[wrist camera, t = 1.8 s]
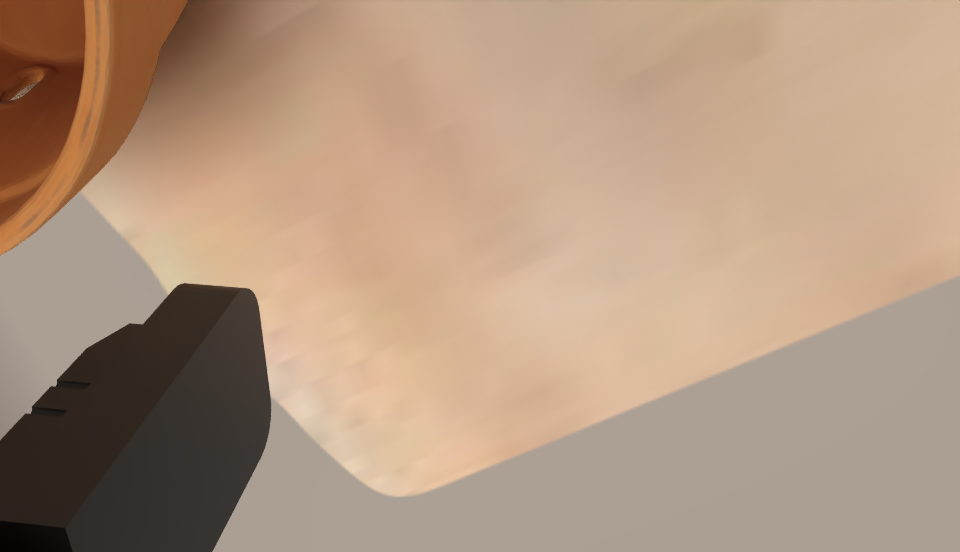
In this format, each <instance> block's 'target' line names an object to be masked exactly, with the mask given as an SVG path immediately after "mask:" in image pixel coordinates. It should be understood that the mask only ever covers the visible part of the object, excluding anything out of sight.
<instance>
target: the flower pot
mask: <svg viewBox="0 0 960 552" xmlns="http://www.w3.org/2000/svg"><path fill="white" fill-rule="evenodd" d="M187 2H188V0H0V255H2V254H4V253H6V252H7V251H9V250H11V249H13V248H14V247H16V246H17V245H18V244H20V243H21V242H22V241H24V240H25V239H27V238H28V237H29V236H31V235H32V234H33V233H35V232H36V231H37V230H38V229H39V228H41V227H42V226H43V225H44V224H45V223H46V222H47V221H48V220H49V219H51V218H52V217H53V216H54V215H55V214H56V213H57V212H58V211H59V210H60V209H61V208H62V207H63V206H64V205H66V204H67V203H68V202H69V201H70V200H71V199H72V198H73V197H74V196H75V195H76V194H77V193H78V192H79V191H80V190H81V189H82V188H83V187H84V186H85V185H86V184H87V183H88V182H89V181H90V180H91V179H92V178H93V177H94V176H95V175H96V174H97V173H98V172H99V171H100V170H101V169H102V168H103V167H104V166H105V165H106V164H107V163H108V162H109V161H110V159H111V158H112V157H113V156H114V155H115V154H116V152H117V151H118V150H119V148H120V147H121V145H122V144H123V142H124V141H125V139H126V138H127V136H128V135H129V133H130V131H131V130H132V128H133V126H134V124H135V122H136V120H137V118H138V116H139V114H140V112H141V109H142V107H143V105H144V103H145V100H146V98H147V95H148V92H149V89H150V86H151V82H152V79H153V75H154V72H155V68H156V65H157V61H158V57H159V51H160V49H161V47H162V45H163V44H164V42H165V41H166V39H167V37H168V36H169V34H170V32H171V31H172V29H173V27H174V26H175V24H176V22H177V20H178V18H179V17H180V15H181V13H182V11H183V10H184V8H185V6H186V4H187ZM36 82H39V83H38V84H36V85H35V86H34V87H33V88H32V89H31V90H30V91H29V92H28V93H27V94H25V95H24V96H22V97H20V98H18V99H16V100H12V101H9V100H11V99H12V98H13V97H14V96H15V95H16V94H17V93H18V92H20V91H21V90H22V89H23V88H25V87H26V86H28V85H30V84H33V83H36Z"/></svg>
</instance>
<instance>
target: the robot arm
mask: <svg viewBox="0 0 960 552" xmlns="http://www.w3.org/2000/svg"><path fill="white" fill-rule="evenodd" d="M270 420H271V398H270V390H269V382H268V375H267V367H266V359H265V351H264V343H263V336H262V328H261V320H260V312H259V306H258V302H257V299H256V296H255V294H254V293H253V291H251V290H250V289H247V288H236V287H224V286H212V285H199V284H187V283H184V284H180V285H178V286H177V287H176V288H175V289H174V290H173V291H172V292H171V293H170V294H169V295H168V296H167V298H166V299H165V300H164V301H163V302H162V303H161V304H160V306H159V307H158V308H157V309H156V310H155V311H154V312H153V314H152V315H151V316H150V317H149V318H148V319H147V320H146V322H145V323H144V324H143V325H142V324H128V325H126V326H125V327H123V328H121V329H119V330H118V331H116V332H114V333H112V334H111V335H109V336H107V337H106V338H104V339H102V340H100V341H99V342H97V343H95V344H94V345H92V346H90V347H88V348H87V349H86V350H85V351H84V352H83V353H82V354H81V355H80V356H79V357H78V358H77V359H76V360H75V361H74V362H73V364H72V365H71V366H70V367H69V368H68V369H67V370H66V371H65V372H64V373H63V374H62V376H60V377H59V378H58V379H57V385H56V387H53V386H51V387H50V388H49V389H48V390H47V391H46V392H45V393H44V394H43V395H42V397H41V398H40V399H39V400H38V401H37V402H36V403H35V404H34V405H33V406H32V412H31V414H25V415H24V416H23V417H22V418H21V419H20V420H19V421H18V422H17V423H16V424H15V425H14V426H13V427H12V429H10V431H9V432H8V433H7V434H6V435H5V436H4V437H3V438H2V439H1V440H0V552H212V551H213V549H214V547H215V546H216V543H217V542H218V540H219V538H220V536H221V534H222V532H223V530H224V528H225V526H226V524H227V522H228V520H229V518H230V516H231V515H232V513H233V511H234V509H235V507H236V505H237V503H238V501H239V499H240V497H241V495H242V493H243V491H244V489H245V487H246V485H247V483H248V482H249V480H250V477H251V476H252V474H253V472H254V470H255V468H256V466H257V464H258V462H259V460H260V458H261V456H262V454H263V451H264V449H265V445H266V442H267V438H268V433H269V428H270Z"/></svg>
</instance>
